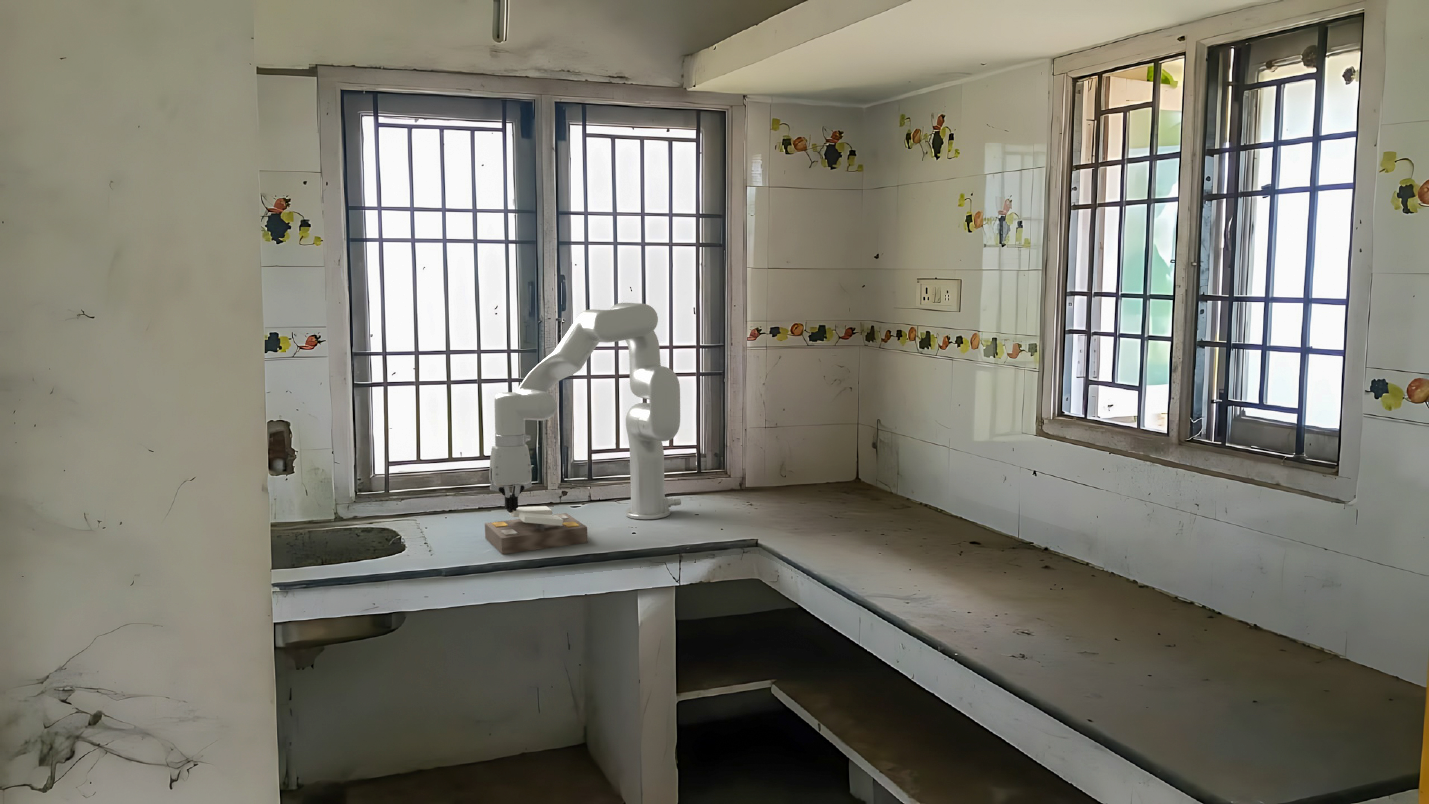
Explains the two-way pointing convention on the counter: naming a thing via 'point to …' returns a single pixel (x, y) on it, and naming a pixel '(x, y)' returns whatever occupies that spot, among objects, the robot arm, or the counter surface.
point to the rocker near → (540, 519)
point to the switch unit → (534, 534)
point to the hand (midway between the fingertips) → (511, 511)
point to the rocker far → (532, 510)
